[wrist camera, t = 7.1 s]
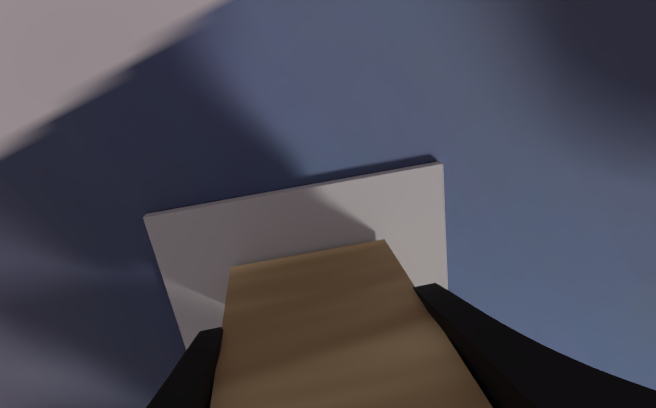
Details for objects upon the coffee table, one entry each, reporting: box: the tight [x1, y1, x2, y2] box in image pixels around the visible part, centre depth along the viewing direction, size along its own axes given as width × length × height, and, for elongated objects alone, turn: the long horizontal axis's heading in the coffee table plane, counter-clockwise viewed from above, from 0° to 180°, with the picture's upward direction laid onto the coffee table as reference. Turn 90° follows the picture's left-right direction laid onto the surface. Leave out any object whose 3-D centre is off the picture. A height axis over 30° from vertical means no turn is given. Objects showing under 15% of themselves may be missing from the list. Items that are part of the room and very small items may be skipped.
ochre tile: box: [210, 239, 493, 408], centre depth 9 cm, size 2×5×9 cm, turn 97°
